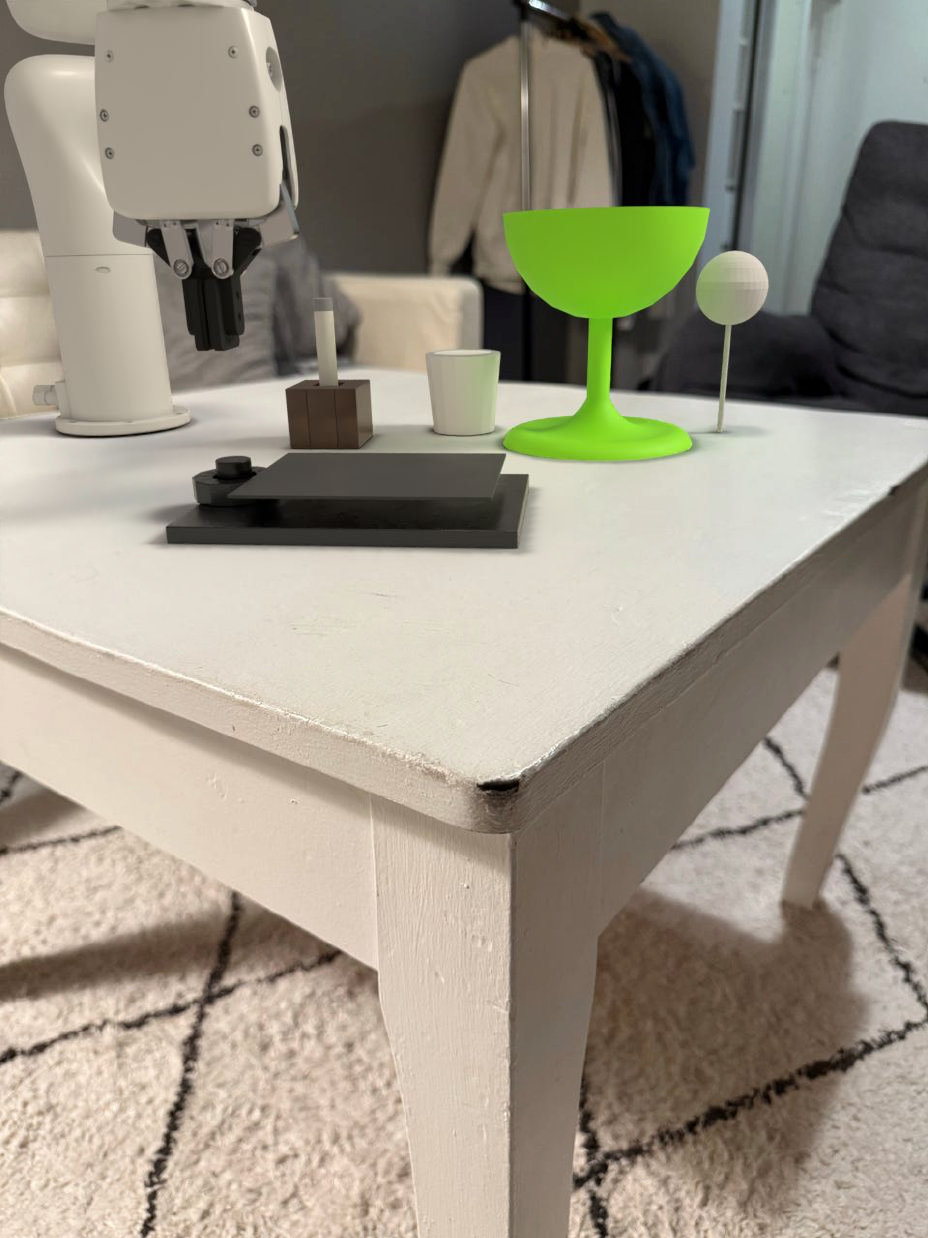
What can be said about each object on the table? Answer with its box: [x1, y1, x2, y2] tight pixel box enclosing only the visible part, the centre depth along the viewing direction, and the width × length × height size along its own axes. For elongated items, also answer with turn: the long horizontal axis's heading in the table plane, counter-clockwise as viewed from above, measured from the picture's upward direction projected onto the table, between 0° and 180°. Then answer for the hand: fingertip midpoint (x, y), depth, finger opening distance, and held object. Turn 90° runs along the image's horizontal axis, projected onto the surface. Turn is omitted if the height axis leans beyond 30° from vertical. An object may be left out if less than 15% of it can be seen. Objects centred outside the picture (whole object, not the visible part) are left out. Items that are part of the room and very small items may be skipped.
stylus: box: [312, 297, 339, 386], centre depth 78 cm, size 2×2×12 cm
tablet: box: [165, 465, 530, 550], centre depth 57 cm, size 21×14×2 cm
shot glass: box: [424, 348, 501, 436], centre depth 84 cm, size 7×7×7 cm
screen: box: [227, 452, 507, 501], centre depth 56 cm, size 15×12×1 cm
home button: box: [214, 455, 253, 480], centre depth 57 cm, size 2×2×1 cm
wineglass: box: [501, 205, 711, 462], centre depth 75 cm, size 16×16×18 cm
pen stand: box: [284, 379, 374, 450], centre depth 80 cm, size 6×6×5 cm
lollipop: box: [695, 250, 769, 433], centre depth 79 cm, size 6×6×15 cm
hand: (218, 347), depth 55 cm, fingers closed
